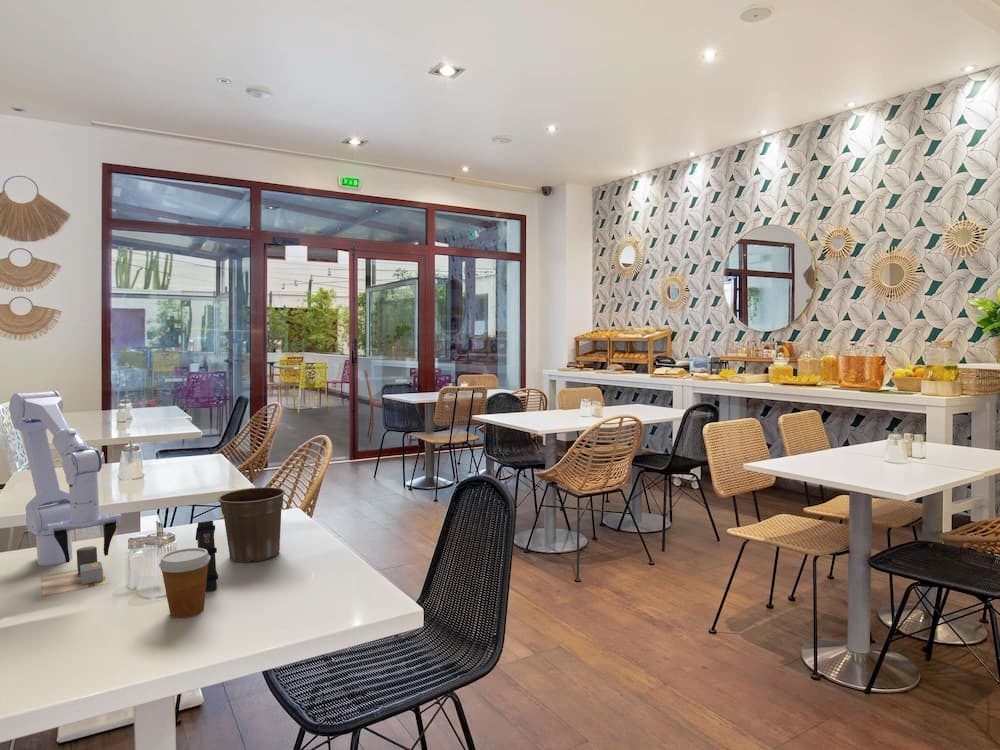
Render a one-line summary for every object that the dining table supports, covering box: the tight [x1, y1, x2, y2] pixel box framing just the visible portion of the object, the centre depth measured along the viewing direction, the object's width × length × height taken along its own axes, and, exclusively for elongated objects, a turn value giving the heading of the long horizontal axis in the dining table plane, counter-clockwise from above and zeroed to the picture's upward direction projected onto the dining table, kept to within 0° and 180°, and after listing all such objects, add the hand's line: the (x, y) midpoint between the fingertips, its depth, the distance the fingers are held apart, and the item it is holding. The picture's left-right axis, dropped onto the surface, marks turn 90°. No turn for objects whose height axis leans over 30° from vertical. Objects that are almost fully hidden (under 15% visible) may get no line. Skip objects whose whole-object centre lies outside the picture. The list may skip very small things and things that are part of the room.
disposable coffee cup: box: [158, 547, 210, 619], centre depth 133 cm, size 10×10×12 cm
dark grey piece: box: [76, 545, 98, 574], centre depth 153 cm, size 4×4×7 cm
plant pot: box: [217, 486, 286, 563], centre depth 168 cm, size 16×16×16 cm
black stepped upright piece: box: [195, 520, 219, 593], centre depth 149 cm, size 4×13×15 cm, turn 28°
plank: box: [40, 567, 108, 597], centre depth 149 cm, size 15×12×2 cm
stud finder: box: [79, 561, 104, 584], centre depth 148 cm, size 5×4×3 cm
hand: (87, 557), depth 153 cm, fingers open, 7 cm apart
